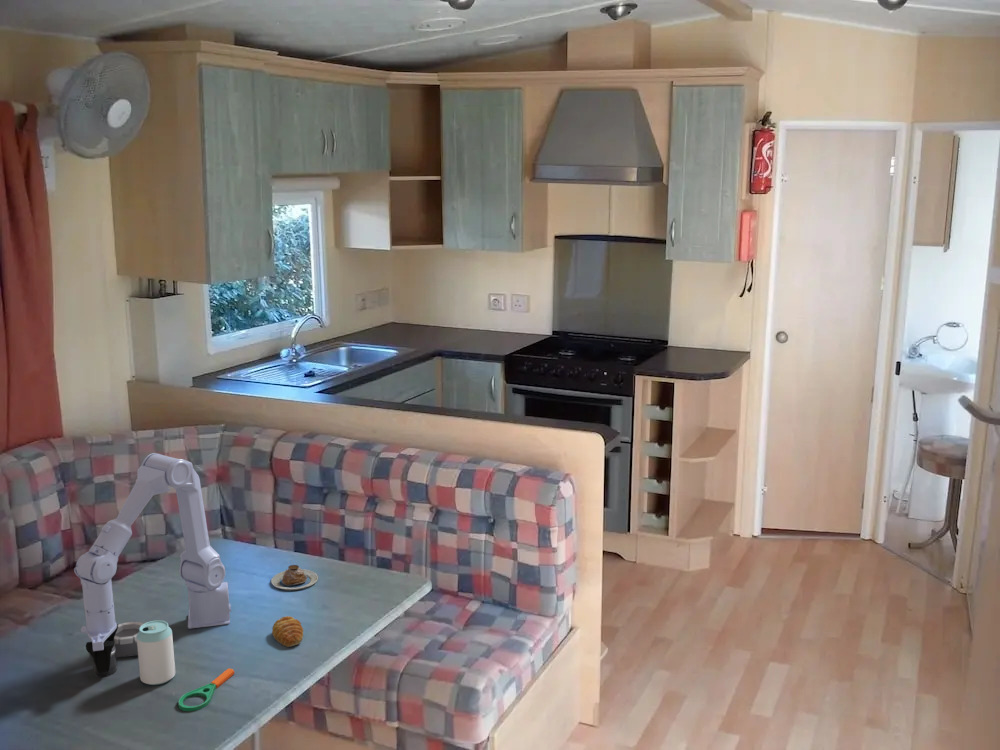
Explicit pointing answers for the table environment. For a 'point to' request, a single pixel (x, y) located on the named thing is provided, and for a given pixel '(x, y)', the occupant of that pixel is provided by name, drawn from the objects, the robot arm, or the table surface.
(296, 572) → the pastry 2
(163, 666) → the can
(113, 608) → the robot arm
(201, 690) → the magnifying glass
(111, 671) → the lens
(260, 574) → the table surface
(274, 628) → the pastry
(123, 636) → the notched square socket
